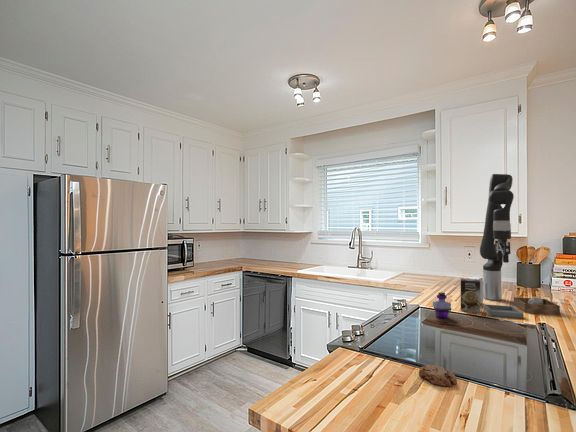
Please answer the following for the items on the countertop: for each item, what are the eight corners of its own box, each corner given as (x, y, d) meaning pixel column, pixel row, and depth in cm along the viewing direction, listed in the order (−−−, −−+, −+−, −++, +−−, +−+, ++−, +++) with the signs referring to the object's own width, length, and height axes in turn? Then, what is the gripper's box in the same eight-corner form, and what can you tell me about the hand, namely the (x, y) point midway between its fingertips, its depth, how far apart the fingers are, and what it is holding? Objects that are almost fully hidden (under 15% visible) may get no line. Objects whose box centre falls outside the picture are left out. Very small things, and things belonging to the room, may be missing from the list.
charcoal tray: (491, 316, 158) (491, 311, 158) (483, 309, 171) (483, 304, 171) (523, 318, 154) (523, 313, 154) (513, 311, 167) (512, 306, 167)
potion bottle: (454, 320, 152) (453, 294, 152) (434, 319, 154) (434, 294, 154) (449, 315, 160) (448, 291, 161) (430, 314, 162) (430, 290, 162)
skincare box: (472, 301, 188) (471, 276, 188) (483, 303, 183) (483, 277, 183) (466, 303, 182) (465, 277, 183) (477, 305, 178) (477, 279, 178)
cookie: (424, 368, 103) (423, 358, 103) (460, 378, 96) (460, 368, 96) (413, 380, 95) (413, 370, 95) (453, 392, 88) (452, 381, 88)
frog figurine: (538, 312, 165) (537, 298, 165) (524, 308, 172) (524, 295, 172) (546, 311, 166) (546, 297, 167) (533, 307, 173) (533, 294, 173)
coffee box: (460, 311, 168) (460, 280, 168) (460, 308, 173) (460, 278, 174) (480, 313, 163) (480, 281, 164) (480, 310, 169) (479, 279, 170)
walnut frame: (524, 312, 164) (524, 303, 164) (513, 305, 178) (513, 297, 178) (560, 314, 160) (559, 305, 160) (546, 307, 174) (545, 299, 174)
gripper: (489, 229, 171) (490, 260, 171) (498, 230, 158) (499, 263, 157) (505, 229, 169) (506, 260, 168) (515, 229, 155) (517, 263, 155)
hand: (502, 261), depth 163 cm, fingers open, 8 cm apart
